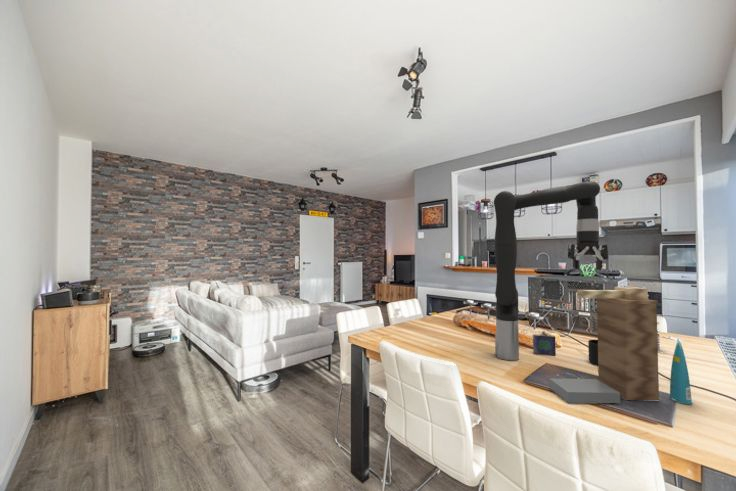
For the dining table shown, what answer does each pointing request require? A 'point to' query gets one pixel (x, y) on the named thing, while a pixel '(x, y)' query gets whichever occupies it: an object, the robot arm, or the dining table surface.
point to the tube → (680, 377)
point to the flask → (544, 344)
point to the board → (584, 391)
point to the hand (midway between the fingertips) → (587, 269)
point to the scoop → (615, 293)
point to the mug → (593, 351)
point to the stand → (628, 347)
